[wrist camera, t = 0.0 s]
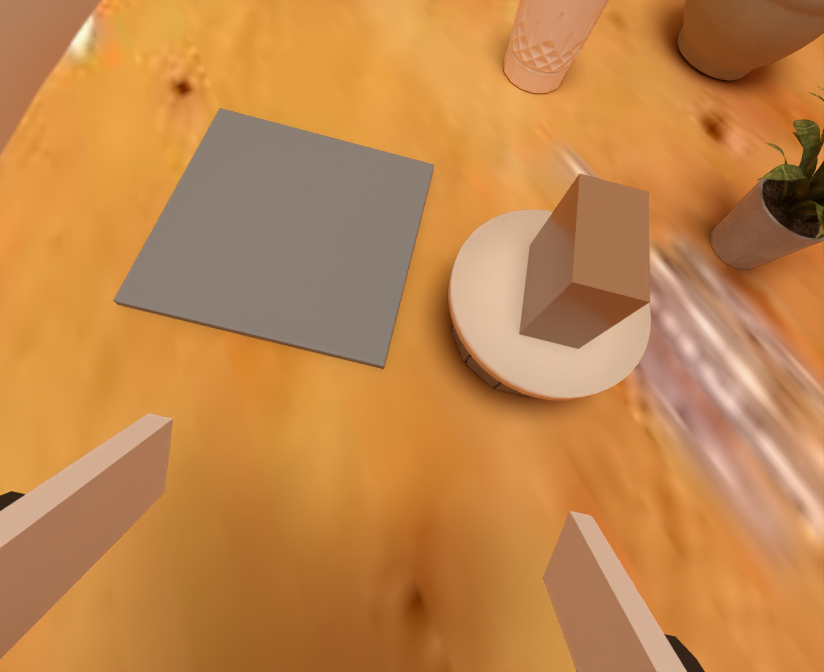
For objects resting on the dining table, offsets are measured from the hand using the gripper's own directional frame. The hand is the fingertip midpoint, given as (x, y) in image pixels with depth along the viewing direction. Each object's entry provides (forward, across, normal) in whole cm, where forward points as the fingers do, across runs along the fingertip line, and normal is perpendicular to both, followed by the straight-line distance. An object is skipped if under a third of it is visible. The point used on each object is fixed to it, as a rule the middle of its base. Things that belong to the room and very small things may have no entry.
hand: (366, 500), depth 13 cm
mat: (+24, +11, -6) cm, 27 cm away
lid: (+17, -9, -6) cm, 21 cm away
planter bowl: (+47, -29, -38) cm, 67 cm away
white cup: (+40, -7, -28) cm, 49 cm away
